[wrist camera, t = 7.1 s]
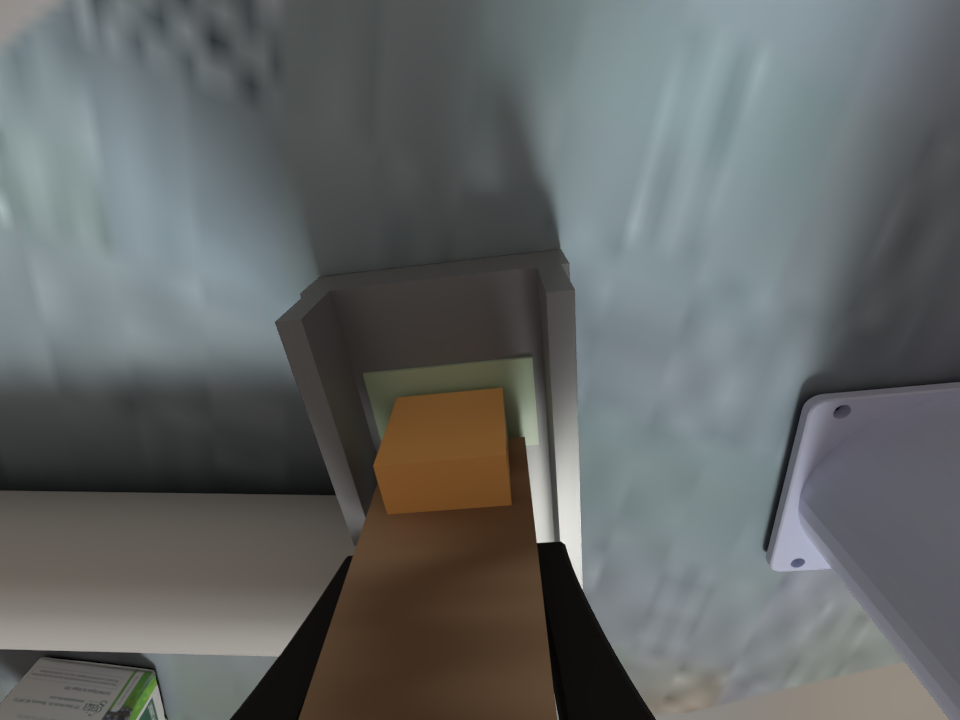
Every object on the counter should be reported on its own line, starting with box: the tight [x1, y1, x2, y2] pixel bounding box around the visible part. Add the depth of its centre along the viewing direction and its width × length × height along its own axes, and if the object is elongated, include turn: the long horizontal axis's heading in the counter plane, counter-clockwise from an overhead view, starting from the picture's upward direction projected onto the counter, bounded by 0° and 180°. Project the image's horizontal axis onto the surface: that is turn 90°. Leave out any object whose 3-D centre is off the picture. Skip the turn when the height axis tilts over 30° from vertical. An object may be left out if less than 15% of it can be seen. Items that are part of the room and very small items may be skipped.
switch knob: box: [373, 388, 512, 514], centre depth 12 cm, size 2×3×3 cm, turn 97°
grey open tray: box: [275, 249, 582, 588], centre depth 14 cm, size 12×7×4 cm, turn 7°
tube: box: [0, 491, 356, 656], centre depth 15 cm, size 5×5×25 cm
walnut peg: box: [298, 437, 557, 720], centre depth 10 cm, size 4×4×8 cm
